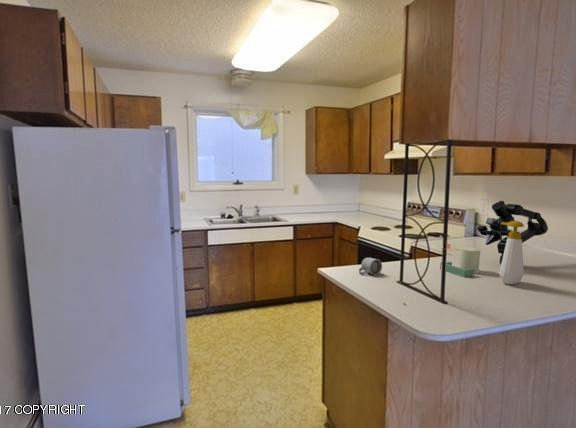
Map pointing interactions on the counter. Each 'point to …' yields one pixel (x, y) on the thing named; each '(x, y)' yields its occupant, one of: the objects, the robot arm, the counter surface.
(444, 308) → the counter surface
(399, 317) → the counter surface
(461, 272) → the green piece
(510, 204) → the robot arm
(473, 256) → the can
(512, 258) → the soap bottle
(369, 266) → the ceramic mug
